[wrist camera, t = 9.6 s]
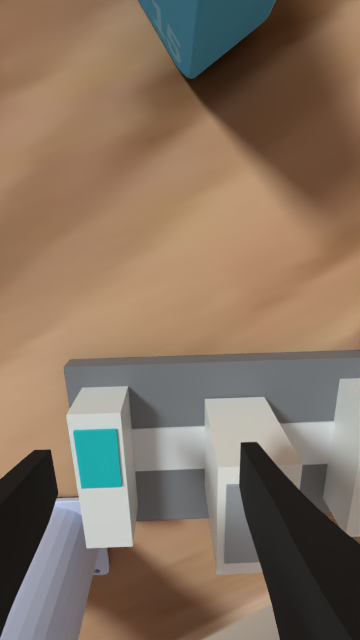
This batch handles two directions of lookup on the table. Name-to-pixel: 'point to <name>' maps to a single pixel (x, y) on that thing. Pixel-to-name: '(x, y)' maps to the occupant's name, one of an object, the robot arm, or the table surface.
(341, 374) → the rail board
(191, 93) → the table surface
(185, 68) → the data package
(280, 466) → the block
